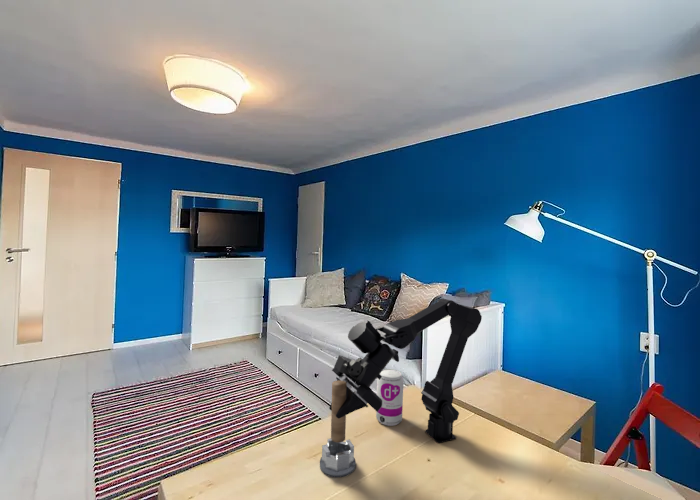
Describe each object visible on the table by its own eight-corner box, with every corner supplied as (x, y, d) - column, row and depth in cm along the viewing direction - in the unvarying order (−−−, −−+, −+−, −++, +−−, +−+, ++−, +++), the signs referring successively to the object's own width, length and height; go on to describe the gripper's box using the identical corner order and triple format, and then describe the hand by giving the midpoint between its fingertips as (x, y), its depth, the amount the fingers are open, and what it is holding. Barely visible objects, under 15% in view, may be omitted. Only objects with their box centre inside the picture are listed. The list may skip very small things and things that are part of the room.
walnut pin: (339, 432, 90) (340, 379, 89) (348, 439, 87) (349, 384, 86) (328, 437, 87) (329, 382, 87) (336, 444, 85) (337, 387, 84)
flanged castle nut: (347, 451, 93) (347, 432, 93) (361, 472, 85) (361, 452, 85) (315, 458, 90) (315, 439, 89) (326, 481, 81) (326, 460, 81)
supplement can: (401, 428, 105) (402, 379, 105) (374, 424, 107) (375, 376, 106) (402, 415, 113) (404, 369, 112) (377, 411, 115) (378, 367, 114)
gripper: (339, 335, 96) (300, 380, 92) (372, 356, 80) (326, 413, 75) (363, 359, 100) (327, 404, 96) (400, 384, 83) (358, 440, 79)
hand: (333, 413), depth 86 cm, fingers closed on walnut pin, 4 cm apart
